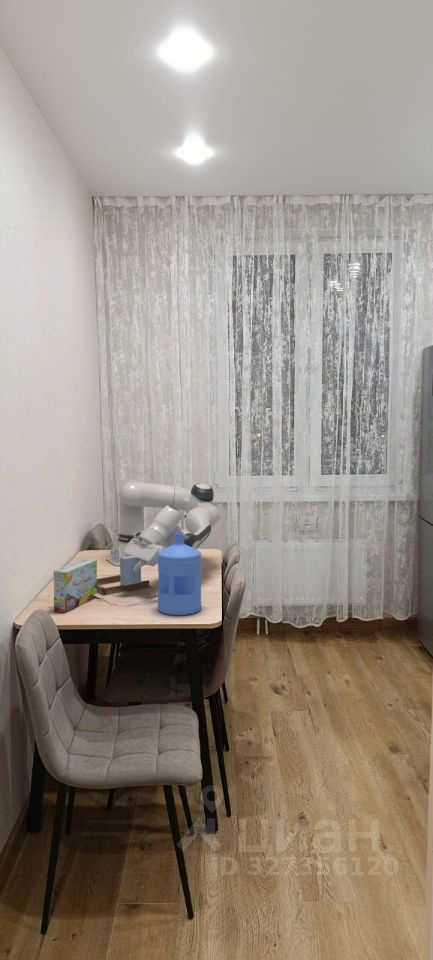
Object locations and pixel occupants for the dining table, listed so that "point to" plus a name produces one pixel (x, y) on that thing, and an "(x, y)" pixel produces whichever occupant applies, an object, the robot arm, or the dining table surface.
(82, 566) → the snack box
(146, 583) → the frame
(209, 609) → the dining table surface
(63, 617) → the dining table surface
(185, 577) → the water jug
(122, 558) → the board
